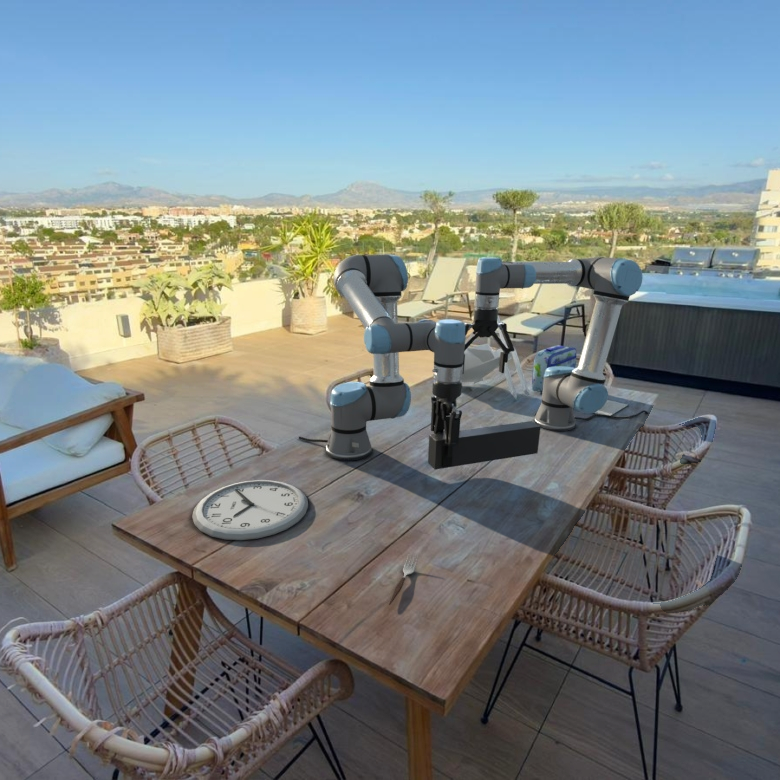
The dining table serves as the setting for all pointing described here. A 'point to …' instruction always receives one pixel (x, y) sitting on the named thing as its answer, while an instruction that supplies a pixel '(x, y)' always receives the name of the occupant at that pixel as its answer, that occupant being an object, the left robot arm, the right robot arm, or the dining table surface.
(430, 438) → the bar
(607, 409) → the invitation card
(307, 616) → the dining table surface
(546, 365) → the lunch box
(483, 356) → the white plastic object
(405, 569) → the fork
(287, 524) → the wall clock
